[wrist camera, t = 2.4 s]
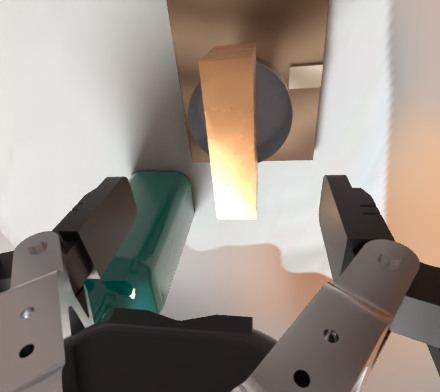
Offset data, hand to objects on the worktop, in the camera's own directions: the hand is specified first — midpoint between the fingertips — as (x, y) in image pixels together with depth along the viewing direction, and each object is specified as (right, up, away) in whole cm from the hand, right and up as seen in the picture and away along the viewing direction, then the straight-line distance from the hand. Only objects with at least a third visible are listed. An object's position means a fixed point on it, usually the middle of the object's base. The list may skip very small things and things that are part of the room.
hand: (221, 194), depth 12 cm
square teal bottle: (-9, 0, +28) cm, 30 cm away
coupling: (+2, +7, +10) cm, 12 cm away
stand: (+3, +12, +18) cm, 22 cm away
